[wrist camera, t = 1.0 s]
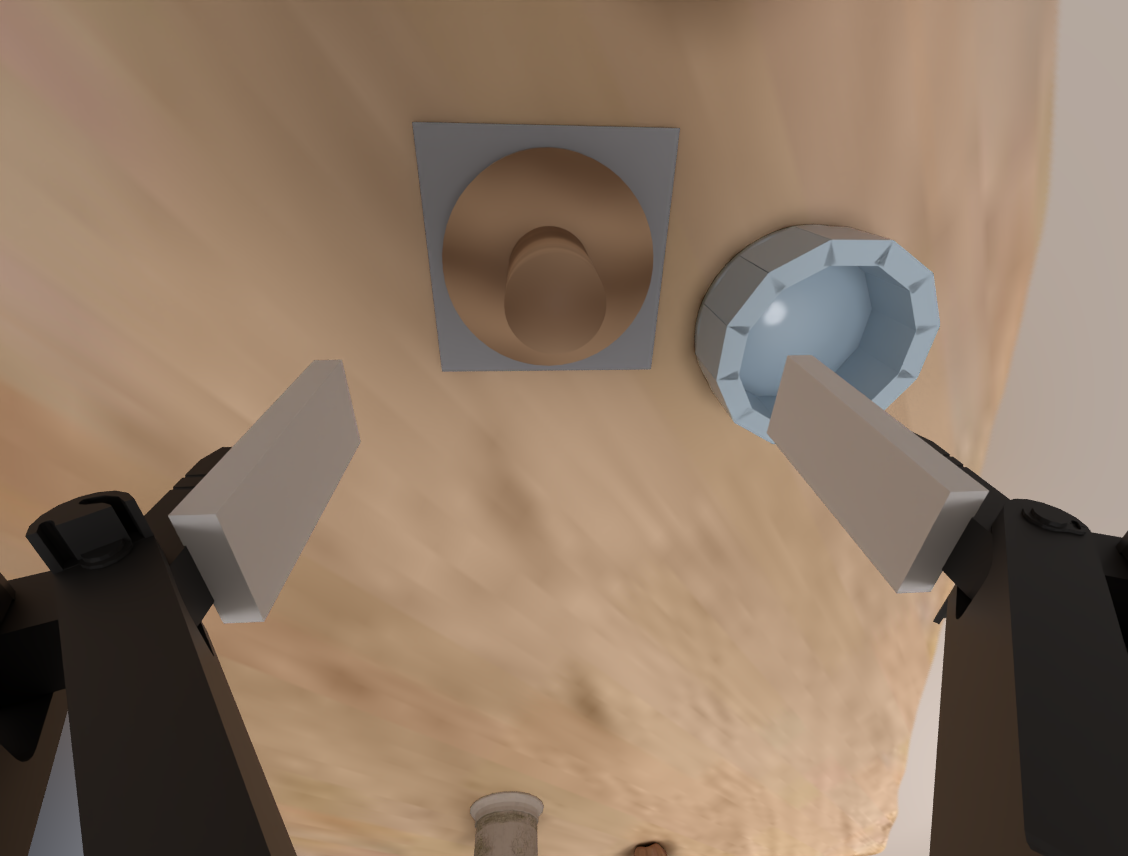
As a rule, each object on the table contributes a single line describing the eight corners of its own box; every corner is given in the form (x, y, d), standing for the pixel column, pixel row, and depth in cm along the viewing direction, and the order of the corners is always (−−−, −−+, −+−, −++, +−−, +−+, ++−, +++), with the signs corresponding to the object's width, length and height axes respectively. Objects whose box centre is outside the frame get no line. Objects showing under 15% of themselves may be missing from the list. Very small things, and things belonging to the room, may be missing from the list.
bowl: (712, 223, 29) (744, 239, 25) (912, 225, 30) (976, 240, 26) (681, 407, 36) (703, 445, 31) (847, 405, 36) (889, 441, 32)
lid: (434, 144, 26) (398, 150, 18) (659, 149, 27) (709, 156, 19) (455, 357, 32) (435, 423, 25) (637, 355, 33) (669, 419, 26)
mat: (413, 122, 25) (412, 121, 25) (677, 128, 26) (679, 128, 26) (442, 368, 33) (442, 371, 32) (649, 366, 34) (650, 369, 33)
